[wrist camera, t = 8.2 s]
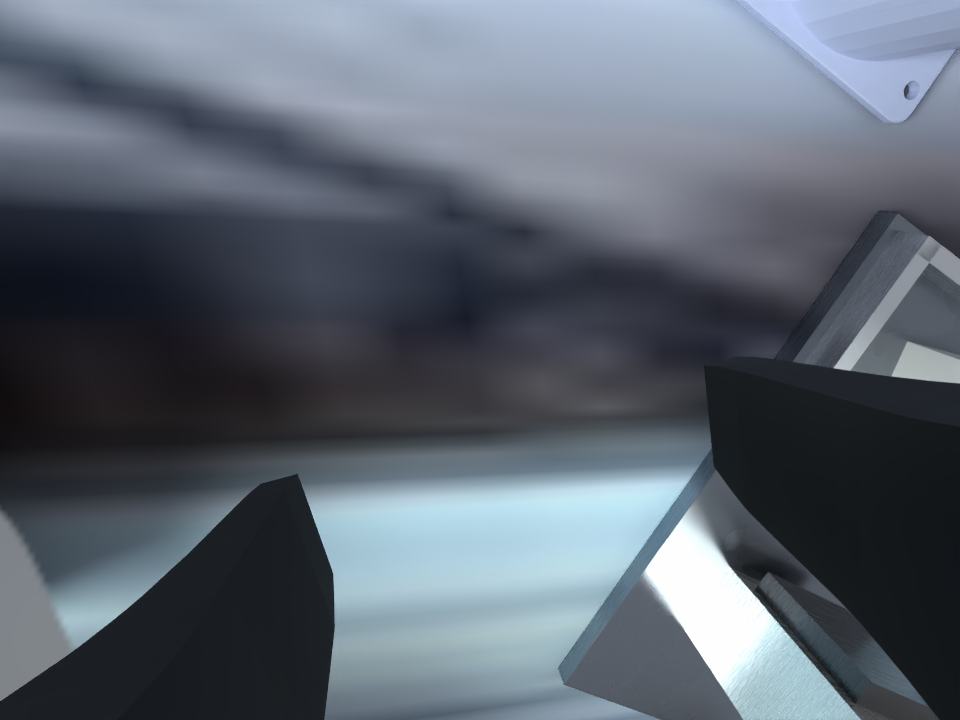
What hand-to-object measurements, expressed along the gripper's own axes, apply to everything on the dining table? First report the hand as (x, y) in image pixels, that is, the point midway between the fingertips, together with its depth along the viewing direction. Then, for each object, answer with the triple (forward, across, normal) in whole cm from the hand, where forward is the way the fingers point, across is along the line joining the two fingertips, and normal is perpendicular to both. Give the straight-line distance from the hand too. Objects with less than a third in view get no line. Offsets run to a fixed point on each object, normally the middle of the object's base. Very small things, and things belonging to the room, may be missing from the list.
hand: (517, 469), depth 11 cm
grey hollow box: (+9, -12, +11) cm, 19 cm away
